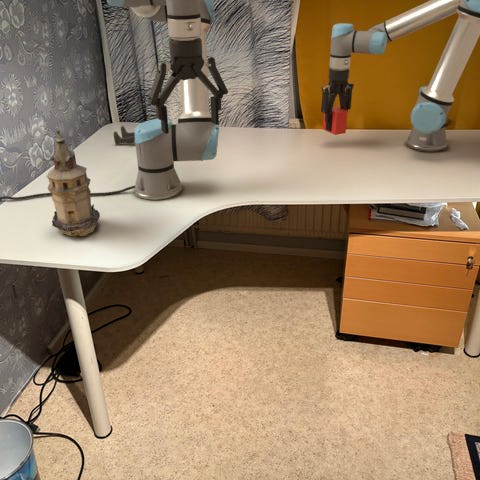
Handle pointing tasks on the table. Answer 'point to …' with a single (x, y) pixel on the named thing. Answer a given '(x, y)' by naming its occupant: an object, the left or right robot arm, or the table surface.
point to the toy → (124, 137)
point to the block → (337, 121)
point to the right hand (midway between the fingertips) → (334, 128)
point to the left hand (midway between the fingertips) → (190, 127)
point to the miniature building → (70, 193)
